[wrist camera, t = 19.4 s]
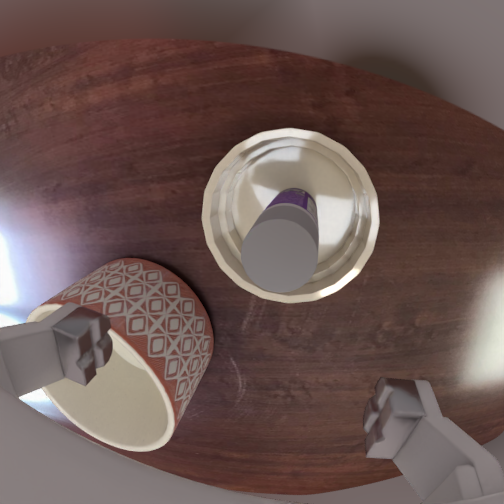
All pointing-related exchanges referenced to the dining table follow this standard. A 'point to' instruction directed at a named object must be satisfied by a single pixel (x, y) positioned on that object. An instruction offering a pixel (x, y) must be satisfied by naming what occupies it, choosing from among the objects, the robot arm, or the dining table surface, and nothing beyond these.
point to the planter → (136, 354)
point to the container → (283, 243)
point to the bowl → (284, 177)
